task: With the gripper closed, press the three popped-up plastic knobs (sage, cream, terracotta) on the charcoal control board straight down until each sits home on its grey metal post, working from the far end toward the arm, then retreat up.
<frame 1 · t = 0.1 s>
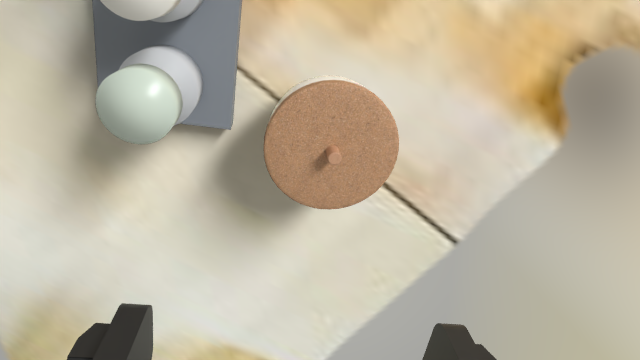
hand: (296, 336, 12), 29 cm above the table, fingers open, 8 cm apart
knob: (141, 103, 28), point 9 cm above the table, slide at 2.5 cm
lidded jar: (322, 120, 40), on the table
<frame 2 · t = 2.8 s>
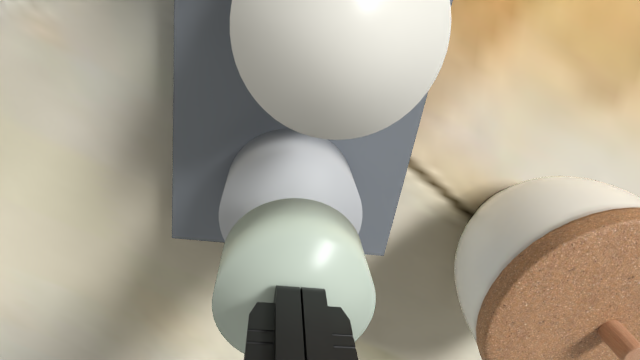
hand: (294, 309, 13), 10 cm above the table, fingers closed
knob mid: (336, 29, 10), point 9 cm above the table, slide at 2.5 cm
control board: (312, 8, 18), on the table
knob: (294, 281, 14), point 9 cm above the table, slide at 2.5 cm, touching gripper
lidded jar: (514, 227, 25), on the table
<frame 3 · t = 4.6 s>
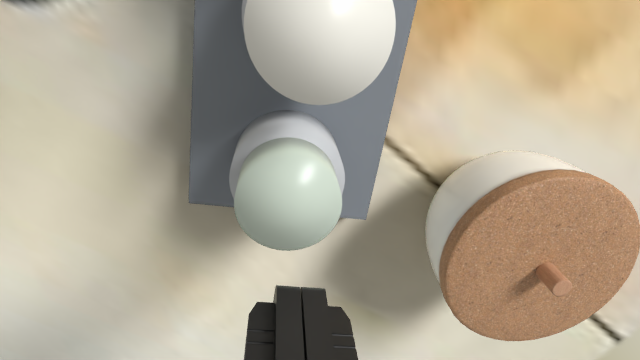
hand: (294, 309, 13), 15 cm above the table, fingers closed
knob mid: (317, 27, 15), point 9 cm above the table, slide at 2.5 cm
control board: (304, 12, 23), on the table
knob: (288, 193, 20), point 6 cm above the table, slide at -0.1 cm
lidded jar: (478, 198, 29), on the table
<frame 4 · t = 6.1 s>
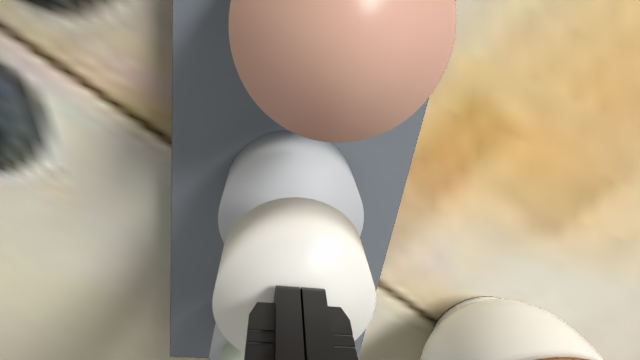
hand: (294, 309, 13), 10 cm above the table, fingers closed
knob mid: (294, 280, 14), point 9 cm above the table, slide at 2.2 cm, touching gripper
control board: (289, 171, 22), on the table
lidded jar: (474, 329, 28), on the table
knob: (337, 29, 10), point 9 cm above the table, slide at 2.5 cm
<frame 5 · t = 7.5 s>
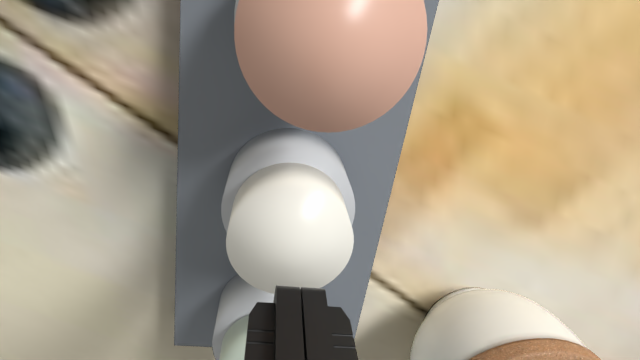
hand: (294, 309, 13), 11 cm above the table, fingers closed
knob mid: (290, 228, 17), point 6 cm above the table, slide at -0.1 cm
control board: (287, 168, 23), on the table
lidded jar: (463, 319, 29), on the table
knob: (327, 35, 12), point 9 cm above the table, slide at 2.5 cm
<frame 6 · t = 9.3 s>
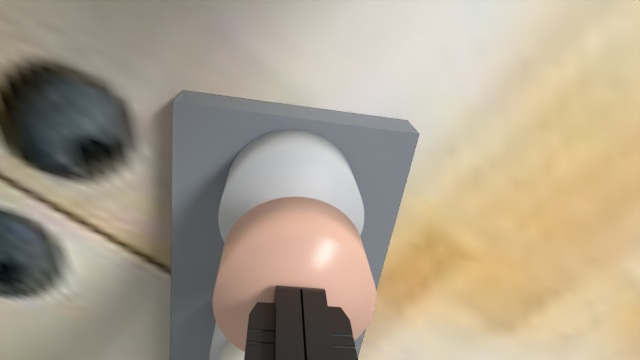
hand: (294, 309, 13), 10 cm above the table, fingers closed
control board: (273, 291, 25), on the table
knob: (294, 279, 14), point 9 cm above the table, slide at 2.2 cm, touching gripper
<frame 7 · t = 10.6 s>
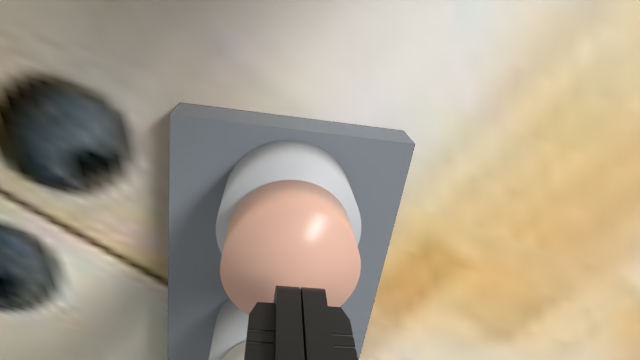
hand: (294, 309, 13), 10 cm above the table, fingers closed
control board: (271, 302, 25), on the table
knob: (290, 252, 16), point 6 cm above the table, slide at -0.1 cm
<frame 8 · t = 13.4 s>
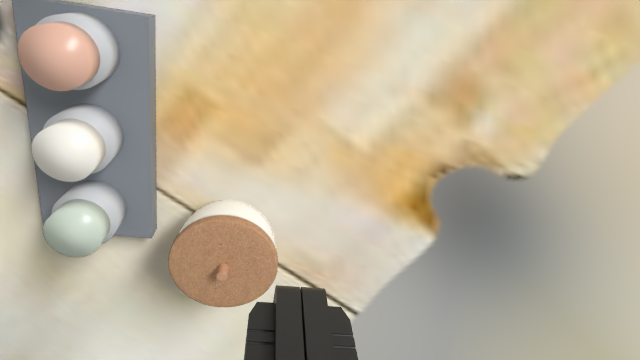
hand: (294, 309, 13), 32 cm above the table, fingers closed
knob mid: (70, 150, 36), point 6 cm above the table, slide at -0.1 cm
control board: (99, 127, 42), on the table
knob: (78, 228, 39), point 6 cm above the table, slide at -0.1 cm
lidded jar: (232, 224, 48), on the table
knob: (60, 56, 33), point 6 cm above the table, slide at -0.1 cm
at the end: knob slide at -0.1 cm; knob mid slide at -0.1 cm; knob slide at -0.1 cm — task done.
